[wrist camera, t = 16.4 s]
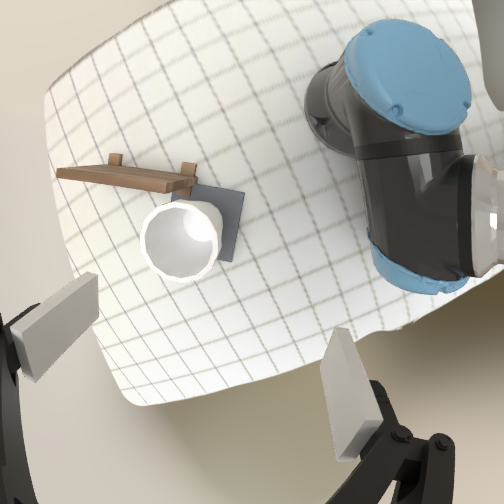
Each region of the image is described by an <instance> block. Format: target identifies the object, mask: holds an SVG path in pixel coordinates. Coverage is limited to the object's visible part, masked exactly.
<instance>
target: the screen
mask: <svg viewBox="0 0 504 504" xmlns="http://www.w3.org/2000/svg"><path fill="white" fill-rule="evenodd" d="M122 155H123V154H113V153H110V154H109V161H108V164H106V165H91V166H78V167H67V168H57V173H56V178H62V179H70V180H78V181H85V182H92V183H99V184H106V185H113V186H120V187H126V188H133V189H139V190H145V191H151V192H157V193H163V194H166V193H170V192H173V191H176V190H178V193H177V195H182V196H188V197H190V196H191V189H192V186H193V185H196V184H197V178H198V177H195V171H196V165H197V164H192V163H186V162H182V168H181V174H177V173H170V172H163V171H157V170H149V169H142V168H134V167H127V166H121V161H122Z"/></svg>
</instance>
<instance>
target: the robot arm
mask: <svg viewBox="0 0 504 504" xmlns="http://www.w3.org/2000/svg"><path fill="white" fill-rule="evenodd" d="M304 106H305V114H306V118H307V121H308V123H309V125H310V127H311V129H312V131H313V132H314V134H315V135H316V136H317V137H318V139H319V140H320V141H321V142H322V143H324V144H325V145H326V146H327V147H329V148H330V149H332V150H334V151H336V152H338V153H341V154H344V155H348V156H355V157H356V158H357V164H358V169H359V175H360V180H361V185H362V191H363V197H364V203H365V210H366V216H367V223H368V227H367V238H368V240H369V243H370V245H371V251H372V258H373V263H374V265H375V267H376V269H377V271H378V272H379V274H380V275H381V276H382V277H383V278H384V279H385V280H387V281H388V282H389V283H391V284H393V285H394V286H396V287H399V288H401V289H403V290H406V291H410V292H413V293H419V294H426V295H437V294H438V292H439V291H440V292H443V293H445V294H447V293H451V292H454V291H457V290H459V289H460V288H461V287H463V286H464V285H465V284H466V283H467V281H468V279H469V278H470V277H476V278H481V277H483V276H484V275H485V274H486V273H487V272H488V271H489V270H490V269H491V268H492V267H493V266H495V265H497V264H504V171H499V170H496V169H495V168H494V167H493V166H492V165H491V164H490V163H489V162H488V161H487V160H486V159H485V158H484V157H483V156H482V155H464V153H463V149H462V142H461V137H460V131H459V126H460V124H461V123H462V122H463V121H464V120H465V118H466V117H467V109H468V108H469V107H470V106H471V87H470V82H469V79H468V76H467V73H466V71H465V69H464V66H463V65H462V63H461V61H460V60H459V58H458V56H457V55H456V54H455V52H454V51H453V50H452V49H451V48H450V47H449V45H448V44H447V43H445V42H444V41H443V40H442V39H439V38H437V37H436V36H435V35H434V34H433V33H432V32H431V31H430V30H428V29H427V28H425V27H423V26H421V25H418V24H416V23H413V22H410V21H406V20H400V19H385V20H380V21H376V22H374V23H371V24H369V25H368V26H366V27H365V28H364V29H363V30H362V31H361V32H360V33H359V34H357V35H356V36H354V37H353V38H352V39H351V41H350V42H349V43H348V44H347V46H346V49H345V51H344V52H343V54H342V56H341V57H340V59H339V60H338V61H336V62H333V63H331V64H328V65H326V66H325V67H323V68H322V69H321V70H319V71H318V72H317V73H316V74H315V76H314V77H313V78H312V80H311V82H310V84H309V86H308V88H307V91H306V95H305V102H304ZM98 317H99V304H98V275H97V274H93V273H90V272H86V273H84V274H83V275H81V276H80V277H78V278H77V279H75V280H74V281H72V282H71V283H70V284H68V285H67V286H65V287H64V288H62V289H61V290H60V291H58V292H57V293H55V294H54V295H52V296H51V297H49V298H48V299H47V300H45V301H44V302H43V303H38V304H35V305H32V306H30V307H29V308H27V309H26V310H25V311H24V312H22V313H20V314H19V315H18V316H16V317H15V318H14V319H12V320H11V321H10V322H9V323H7V324H6V325H3V321H2V317H1V313H0V504H38V502H37V499H36V496H35V493H34V489H33V485H32V481H31V477H30V473H29V467H28V462H27V457H26V452H25V445H24V439H23V431H22V424H21V415H20V402H19V384H18V374H17V370H18V369H19V368H20V367H21V369H22V372H23V375H24V377H26V378H27V379H29V380H31V381H33V382H34V383H36V382H37V381H38V380H39V379H40V378H41V376H42V375H43V374H44V373H45V372H46V371H47V370H48V369H49V368H50V367H51V366H52V364H54V362H55V361H56V360H57V359H58V358H59V357H60V356H61V355H62V354H63V353H64V352H65V351H66V350H67V349H68V348H69V347H70V346H71V345H72V344H73V342H75V341H76V339H78V337H80V335H81V334H82V333H83V332H84V331H85V330H86V329H87V328H88V327H89V326H90V325H91V324H92V323H93V322H94V321H95V320H96V319H97V318H98ZM320 372H321V377H322V382H323V388H324V393H325V398H326V403H327V409H328V414H329V420H330V425H331V431H332V437H333V443H334V449H335V456H336V461H339V462H344V461H347V462H348V461H354V460H355V458H356V457H357V456H358V455H359V454H360V458H361V462H360V463H359V464H358V466H357V467H356V468H355V469H354V470H353V471H352V473H351V474H350V476H349V477H348V478H347V479H346V481H345V482H344V483H343V484H342V485H341V486H340V488H339V489H338V490H337V491H336V492H335V494H334V495H333V496H332V497H331V498H330V499H329V500H328V501H327V502H326V503H325V504H378V502H379V501H380V499H381V498H382V496H383V494H384V493H385V491H386V490H387V488H388V486H389V485H390V483H391V482H392V480H396V481H397V482H396V486H395V490H394V494H393V497H392V501H391V504H452V500H453V489H454V472H455V445H454V442H453V440H452V439H451V438H450V437H449V436H447V435H445V434H442V433H437V434H434V435H433V436H431V438H430V439H429V440H424V439H419V438H414V437H413V434H412V433H411V431H410V430H409V429H408V428H406V427H405V426H402V425H400V424H399V423H398V420H397V418H396V415H395V413H394V410H393V408H392V405H391V404H390V400H389V398H388V397H387V393H386V391H385V389H384V387H383V386H382V385H381V384H380V383H379V382H378V381H375V380H369V379H368V377H367V374H366V372H365V369H364V367H363V364H362V361H361V359H360V356H359V354H358V351H357V349H356V347H355V344H354V342H353V339H352V337H351V334H350V332H349V329H346V328H340V327H335V328H334V331H333V333H332V336H331V339H330V341H329V344H328V347H327V349H326V352H325V354H324V357H323V360H322V362H321V365H320Z"/></svg>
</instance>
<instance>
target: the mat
mask: <svg viewBox="0 0 504 504" xmlns="http://www.w3.org/2000/svg"><path fill="white" fill-rule="evenodd" d="M177 193H178V190H176V191H173V192H172V197H171V202H173V201H176V200H179V199H182V200H188V201H203V202H209V203H211V204H213V205H214V206H216V207H217V208H218V209H219V211H220V213H221V215H222V218H223V229H222V236H221V243H222V247H221V249H220V252H219V254H218V257H217V259H218V260H223V261H227V262H232V257H233V252H234V246H235V241H236V236H237V230H238V225H239V220H240V214H241V209H242V204H243V199H244V192H238V191H233V190H228V189H222V188H217V187H211V186H206V185H200V184H196V185H193V186H192V189H191V196H190V197H188V196H182V195H177Z"/></svg>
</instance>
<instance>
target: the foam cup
mask: <svg viewBox="0 0 504 504" xmlns="http://www.w3.org/2000/svg"><path fill="white" fill-rule="evenodd" d="M222 229H223V218H222V215H221V213H220V211H219V209H218V208H217V207H216V206H214V205H213V204H211V203H209V202H203V201H188V200H182V199H179V200H176V201H173V202H169V203H166V204H163V205H161V206H158V207H157V208H156V209H155V210H154V211H153V212H152V213H151V214H150V215H149V216H148V217H147V218H146V219H145V221H144V224H143V227H142V230H141V233H140V242H141V250H142V254H143V256H144V258H145V259H146V261H147V263H148V264H149V266H150V268H151V269H152V270H154V271H155V272H156V273H158V274H159V275H160V276H162V277H163V278H164V279H167V280H171V281H175V282H180V283H184V282H189V281H193V280H198V279H199V278H201V277H202V276H203V275H204V274H206V273H207V272H208V271H209V270H210V269H212V267H213V265H214V263H215V261H216V259H217V257H218V254H219V252H220V249H221V247H222V243H221V236H222Z"/></svg>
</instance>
